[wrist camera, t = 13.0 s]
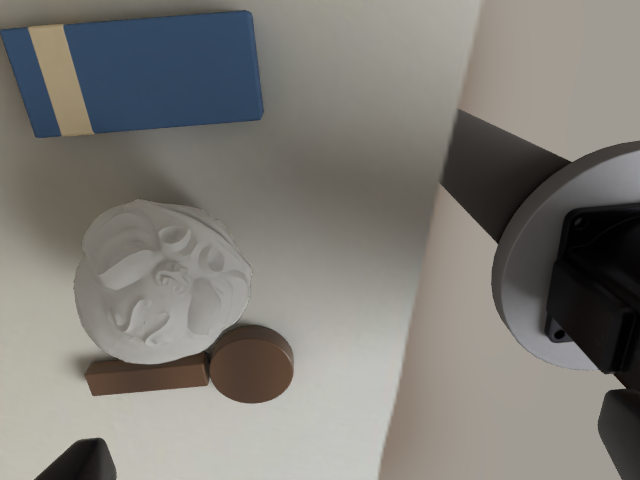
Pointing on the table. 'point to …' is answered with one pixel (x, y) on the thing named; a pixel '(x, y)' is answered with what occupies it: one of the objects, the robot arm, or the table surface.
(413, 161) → the table surface
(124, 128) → the blue eraser
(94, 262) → the frog figurine
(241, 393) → the brown disc with handle
